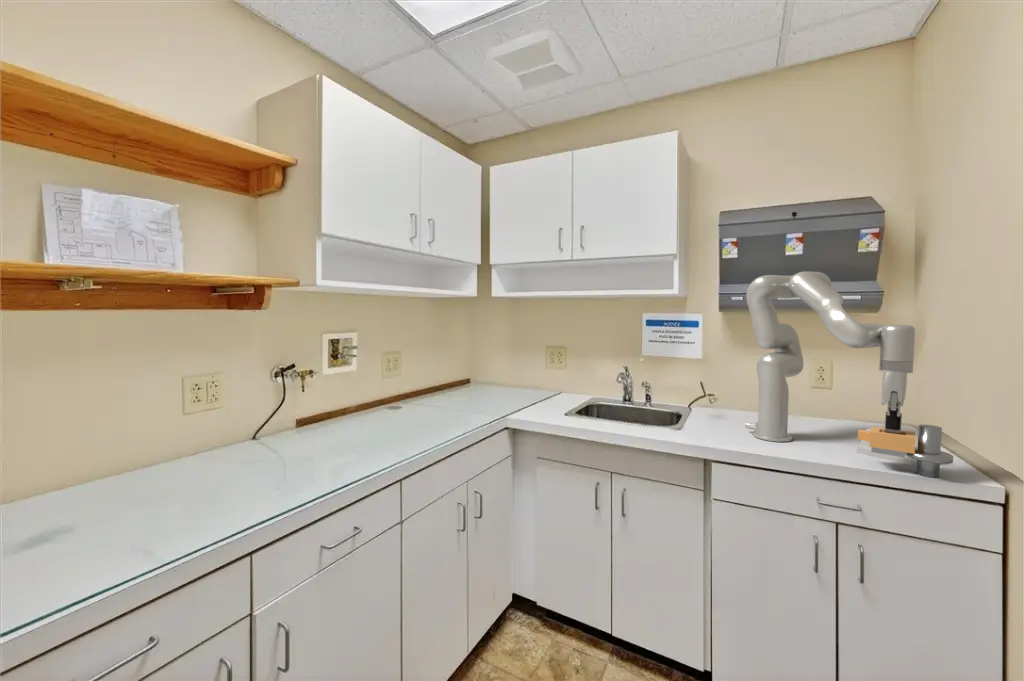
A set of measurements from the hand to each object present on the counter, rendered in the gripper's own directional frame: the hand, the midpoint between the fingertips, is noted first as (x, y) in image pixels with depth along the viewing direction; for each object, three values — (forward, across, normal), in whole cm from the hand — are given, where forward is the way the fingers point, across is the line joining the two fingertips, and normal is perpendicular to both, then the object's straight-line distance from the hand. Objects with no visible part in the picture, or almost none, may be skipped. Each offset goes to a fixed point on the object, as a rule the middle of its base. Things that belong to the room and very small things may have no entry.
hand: (892, 427), depth 132 cm
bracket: (+6, 0, -1) cm, 6 cm away
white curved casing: (+13, -13, 0) cm, 18 cm away
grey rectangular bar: (+7, 0, 0) cm, 7 cm away
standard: (+12, 0, +4) cm, 13 cm away
